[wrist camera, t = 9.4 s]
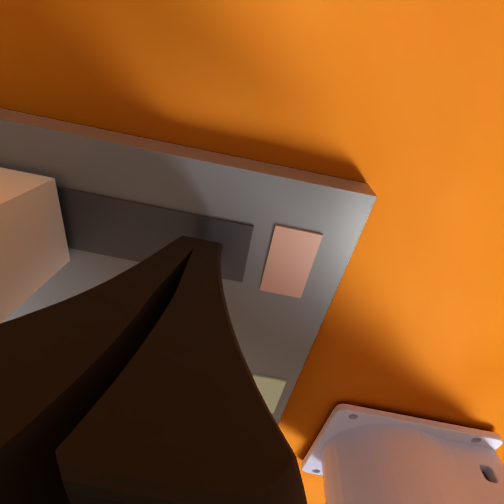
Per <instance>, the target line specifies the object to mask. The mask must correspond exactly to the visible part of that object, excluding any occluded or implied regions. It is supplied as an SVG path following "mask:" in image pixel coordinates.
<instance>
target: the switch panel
mask: <svg viewBox="0 0 504 504" xmlns="http://www.w3.org/2000/svg"><path fill="white" fill-rule="evenodd" d="M0 167H2V168H7V169H12V170H17V171H22V172H27V173H32V174H36V175H41V176H46V177H51V178H55V182H56V188H57V193H58V198H59V203H60V209H61V214H62V219H63V224H64V229H65V235H66V240H67V245H68V250H69V255H70V261H69V262H68V263H67V264H66V265H65V266H64V267H63V268H61V269H60V270H59V271H58V272H57V273H56V274H55V275H54V276H53V277H51V278H50V279H49V280H48V281H47V282H46V283H45V284H44V285H42V286H41V287H40V288H39V289H38V290H37V291H36V292H35V293H34V294H32V295H31V296H30V297H29V298H28V299H27V300H26V301H25V302H24V303H22V304H21V305H20V306H19V307H18V308H17V309H16V310H15V311H14V312H12V313H11V314H10V315H9V316H8V317H7V318H6V319H5V320H4V321H2V322H1V323H3V322H6V321H9V320H12V319H15V318H18V317H21V316H23V315H26V314H29V313H32V312H34V311H37V310H40V309H42V308H45V307H48V306H50V305H53V304H56V303H58V302H61V301H64V300H66V299H68V298H71V297H73V296H75V295H78V294H80V293H82V292H84V291H87V290H89V289H91V288H93V287H95V286H97V285H99V284H102V283H104V282H106V281H108V280H110V279H111V278H113V277H115V276H117V275H119V274H120V273H122V272H124V271H126V270H128V269H129V268H131V267H133V266H135V265H137V264H138V263H140V262H141V261H143V260H145V259H146V258H148V257H149V256H151V255H153V254H154V253H156V252H157V251H159V250H160V249H162V248H163V247H165V246H166V245H168V244H170V243H171V242H173V241H174V240H176V239H177V238H179V237H181V236H182V235H183V236H188V237H193V238H198V239H203V240H208V241H213V242H218V243H221V245H222V246H223V252H222V258H221V276H222V284H223V290H224V295H225V300H226V304H227V308H228V312H229V316H230V319H231V323H232V326H233V329H234V332H235V335H236V338H237V340H238V343H239V346H240V348H241V351H242V353H243V356H244V358H245V360H246V362H247V365H248V367H249V369H250V371H251V374H252V376H253V378H254V380H255V383H256V385H257V387H258V389H259V391H260V393H261V395H262V397H263V399H264V401H265V403H266V404H267V406H268V408H269V410H270V412H271V414H272V416H273V417H274V419H275V421H276V423H277V425H278V423H279V421H280V419H281V416H282V414H283V412H284V410H285V407H286V405H287V403H288V400H289V398H290V396H291V393H292V391H293V389H294V386H295V384H296V382H297V380H298V377H299V375H300V373H301V370H302V368H303V366H304V363H305V361H306V359H307V357H308V354H309V352H310V350H311V347H312V345H313V343H314V340H315V338H316V336H317V334H318V331H319V329H320V327H321V324H322V322H323V320H324V317H325V315H326V313H327V311H328V308H329V306H330V304H331V301H332V299H333V297H334V294H335V292H336V290H337V288H338V285H339V283H340V281H341V278H342V276H343V274H344V271H345V269H346V267H347V264H348V262H349V260H350V258H351V255H352V253H353V251H354V248H355V246H356V244H357V241H358V239H359V237H360V235H361V232H362V230H363V228H364V225H365V223H366V221H367V218H368V216H369V214H370V212H371V209H372V207H373V205H374V202H375V200H376V198H377V196H376V195H375V193H374V192H373V191H372V189H371V188H370V186H369V185H368V184H367V183H362V182H357V181H352V180H347V179H343V178H338V177H333V176H328V175H323V174H318V173H313V172H309V171H304V170H299V169H294V168H289V167H284V166H280V165H275V164H270V163H265V162H260V161H255V160H250V159H246V158H241V157H236V156H231V155H226V154H221V153H216V152H212V151H207V150H202V149H197V148H192V147H187V146H182V145H178V144H173V143H168V142H163V141H158V140H153V139H148V138H144V137H139V136H134V135H129V134H124V133H119V132H114V131H110V130H105V129H100V128H95V127H90V126H85V125H81V124H76V123H71V122H66V121H61V120H56V119H51V118H47V117H42V116H37V115H32V114H27V113H22V112H17V111H13V110H8V109H3V108H0Z"/></svg>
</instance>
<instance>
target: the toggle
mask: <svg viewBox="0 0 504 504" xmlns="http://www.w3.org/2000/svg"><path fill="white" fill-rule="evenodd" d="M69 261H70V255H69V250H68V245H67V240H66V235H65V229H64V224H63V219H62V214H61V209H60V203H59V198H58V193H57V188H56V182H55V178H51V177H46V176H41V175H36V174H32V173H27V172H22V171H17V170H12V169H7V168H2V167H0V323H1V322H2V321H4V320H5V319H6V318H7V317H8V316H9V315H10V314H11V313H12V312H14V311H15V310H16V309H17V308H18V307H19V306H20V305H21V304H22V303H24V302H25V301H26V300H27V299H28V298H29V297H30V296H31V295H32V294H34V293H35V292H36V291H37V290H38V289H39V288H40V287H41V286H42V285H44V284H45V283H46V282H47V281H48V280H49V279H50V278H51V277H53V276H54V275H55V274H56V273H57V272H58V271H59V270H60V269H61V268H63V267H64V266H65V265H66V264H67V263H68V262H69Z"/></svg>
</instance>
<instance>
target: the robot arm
mask: <svg viewBox="0 0 504 504" xmlns="http://www.w3.org/2000/svg"><path fill="white" fill-rule="evenodd" d="M222 252H223V246H222V245H221V243H218V242H213V241H208V240H203V239H198V238H193V237H188V236H183V235H182V236H181V237H179V238H177V239H176V240H174V241H173V242H171V243H170V244H168V245H166V246H165V247H163V248H162V249H160V250H159V251H157V252H156V253H154V254H153V255H151V256H149V257H148V258H146V259H145V260H143V261H141V262H140V263H138V264H137V265H135V266H133V267H131V268H129V269H128V270H126V271H124V272H122V273H120V274H119V275H117V276H115V277H113V278H111V279H110V280H108V281H106V282H104V283H102V284H99V285H97V286H95V287H93V288H91V289H89V290H87V291H84V292H82V293H80V294H78V295H75V296H73V297H71V298H68V299H66V300H64V301H61V302H58V303H56V304H53V305H50V306H48V307H45V308H42V309H40V310H37V311H34V312H32V313H29V314H26V315H23V316H21V317H18V318H15V319H12V320H9V321H6V322H3V323H0V504H307V500H306V496H305V491H304V486H303V482H302V478H301V474H300V470H299V466H298V463H297V459H296V456H295V454H294V452H293V450H292V449H291V447H290V445H289V444H288V442H287V440H286V439H285V437H284V435H283V433H282V432H281V430H280V428H279V426H278V425H277V423H276V421H275V419H274V417H273V416H272V414H271V412H270V410H269V408H268V406H267V404H266V403H265V401H264V399H263V397H262V395H261V393H260V391H259V389H258V387H257V385H256V383H255V380H254V378H253V376H252V374H251V371H250V369H249V367H248V365H247V362H246V360H245V358H244V356H243V353H242V351H241V348H240V346H239V343H238V340H237V338H236V335H235V332H234V329H233V326H232V323H231V319H230V316H229V312H228V308H227V304H226V300H225V295H224V290H223V284H222V276H221V258H222ZM502 444H503V440H502V439H501V437H500V435H499V434H497V433H494V432H490V431H485V430H479V429H474V428H469V427H464V426H459V425H453V424H448V423H443V422H438V421H433V420H427V419H422V418H417V417H412V416H407V415H401V414H396V413H391V412H386V411H381V410H375V409H370V408H365V407H360V406H355V405H349V404H339V405H337V406H336V407H335V408H334V409H333V411H332V413H331V414H330V416H329V418H328V419H327V421H326V423H325V424H324V426H323V428H322V429H321V431H320V433H319V434H318V436H317V438H316V439H315V441H314V443H313V444H312V446H311V448H310V449H309V451H308V453H307V455H306V456H305V458H304V460H303V461H302V464H301V465H302V470H303V471H304V472H307V473H312V474H317V475H323V482H324V493H325V503H326V504H504V466H503V464H502V462H501V460H500V459H499V457H498V455H497V453H496V451H495V450H496V449H497V448H498V447H499V446H501V445H502Z"/></svg>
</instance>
